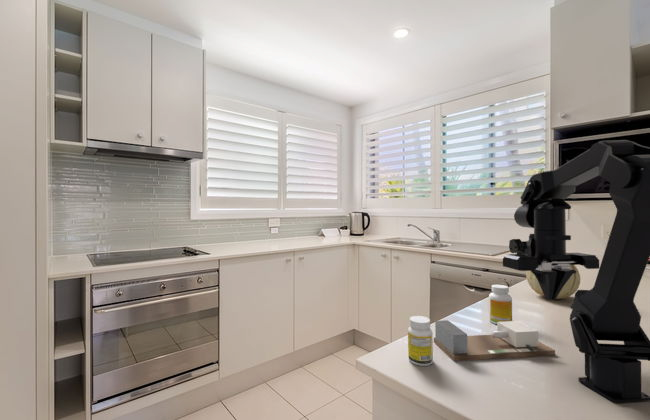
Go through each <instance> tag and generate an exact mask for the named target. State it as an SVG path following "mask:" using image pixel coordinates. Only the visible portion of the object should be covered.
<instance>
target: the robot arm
mask: <svg viewBox="0 0 650 420" xmlns="http://www.w3.org/2000/svg"><path fill="white" fill-rule="evenodd" d="M596 177H601V178H602V179H604V180H605V181H607V182H609V183H610V184H609V190H608V194H609V196H610V198H611V200H612V202H613V204H614V205H615V208H616V214H615V216H614V219H613V220H614V221H613V224H612V228H611V230H610V233H609V237H608V240H607V243H606V247H605V250H604V253H603V257H602V259H601V263H600V259H599V258H598V256H596V255H595V254H587V253H583V252H582V253H581V252H566V251H567V241H571V240H572V235H570V234H567V233H566V232H567V231H566V225H567V223H566V220H567V219H566V213H567V212H566V210H571V209H572V206H571V205H570V204H569V203H568V202H566V201H565V200H566V199H568V198H569V197H570V196H572V195H573V194H575V192H576V187H578V186H579V185H582V184H583V183H586V182H588V181H589V180H593V179H594V178H596ZM520 199H521V200H520V204H521V206H519V207H518V208H516V210H515V211H514V215H513V217H514V221H515V223H516V224H517V225H518V226H519V227H522V228H528V229H529V228H530V229H533V233H529V235H528V240H523V241H522V240H521V239H520V238H513V239H512V238H511V239H510V240H509V241H508V249H509V252H510V254H509V253H507V254H505V255H504V256H503V258H502V267H504V268H509V269H511V270H512V269H513V270H516V271H522V272H527V271H531V272H532V273H533V274H534V275H535V276H536V278H537V280H538V282H539V284H540V287H541V289H542V292H543V294H544V296H545V297H544V296H543V297H544V298H545V300H546V301H549V302H550V301H556V300H557V299H556V298H557V296H558V294H559V293H560V291H561V290H562V288H563V286H564V285H565V284H566V282H567V281H568V280H569V278H570V277H571V276H572V274H573V273H576V270H571V266H570V265H575V266H577V265H578V266H582V267H584V268H585V269H587V270H593V269H594V270H596V269H598V272H597V276H596V278H595V282H594V285H593V286H592V288H591V289H577V291H576V292H575V293H574V299H573V302H572V305H570V309H572V310H571V313H570V314H569V315H570V316H569V323H570V328H571V331H572V336H573V342H574V344H575V347H576V348H578V351H579V352H580V353H582V354H584V375H585V376H583V377H582V376H581V377H578V379H577V380H578V382H580V383H581V384H583V385H584V386H586V387H588V388H589V389H592V390H593V391H594V392H596V393H598V394H599V395H601V396H603V397H604V398H606V399H608V400H610V402H613V403H619V404H621V403H633V402H644V401H650V395H648V393H647V394H646V393H645V392H643V391H642V361H649V362H650V338H649V337H648V336H647V333H646V332H645V331H644V330H643V328H642V326H641V320H642V316H641V313H640V311H639V309H638V308H637V306H636V304H635V298H636V295H637V293H638V288H639V286H640V284H641V281H642V278H643V276H644V273H645V270H646V267H647V265H648V263H649V259H650V147H649V146H645V145H642V144H639V143H637V142H635V141H631V140H630V139H629V140H628V139H619V140H617V139H616V140H615V139H614V140H601V141H598V142H595V143H593V144H592V145H591V147H590V148H589V149H588V150H586V151H584V152H583V153H581V154H579V155H577V156H576V157H574V158H573V159H571V160H569V161H567V162H566V163H564V164H562V165H560V166H559V167H557V168H556V169H552V170H546V171H541V172H537V173H534V174H533V175H532V176H531V177H530V178H529V180H528V181H527V183H526V186H525V188H524V190H523V192H522V194H521V196H520ZM543 261H546V262H543ZM598 341H604V342H605V341H606V342H607V341H608V342H609V341H610V342H623V343H602V342H601V343H600V342H598ZM641 360H642V361H641Z"/></svg>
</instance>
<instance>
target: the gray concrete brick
mask: <svg viewBox="0 0 650 420" xmlns="http://www.w3.org/2000/svg"><path fill="white" fill-rule="evenodd" d="M434 323H435V326H434V327H435V328H434V330H435V337H434V338H436V339H437V340H438V341H439V342H440V343H441V344H442V345H443V346H444V347H445V348H446V349H448V350H449V351H450V352H451V353H452V354H453V355H460V354H467V336H468V333H466V332H465V331H463V330H462V329H460V328H459V327H458V326H456V325H455V324H454V323H452V322H451V321H450V320H448V319H447V320H435V321H434Z"/></svg>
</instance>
